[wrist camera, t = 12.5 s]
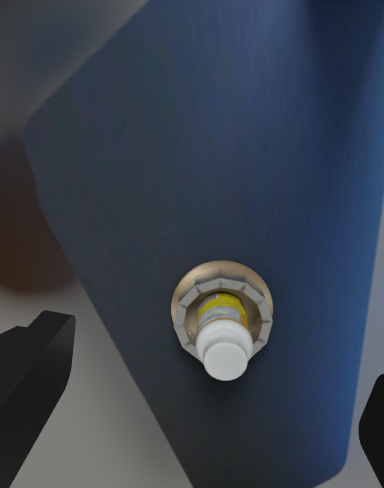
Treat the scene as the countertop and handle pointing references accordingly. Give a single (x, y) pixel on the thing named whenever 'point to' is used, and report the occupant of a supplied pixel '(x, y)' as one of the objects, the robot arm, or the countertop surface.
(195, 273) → the beige round plate
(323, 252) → the countertop surface
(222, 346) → the supplement bottle
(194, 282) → the white beige low ring
